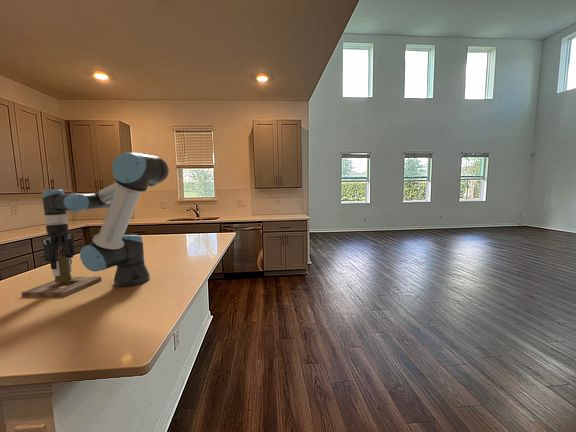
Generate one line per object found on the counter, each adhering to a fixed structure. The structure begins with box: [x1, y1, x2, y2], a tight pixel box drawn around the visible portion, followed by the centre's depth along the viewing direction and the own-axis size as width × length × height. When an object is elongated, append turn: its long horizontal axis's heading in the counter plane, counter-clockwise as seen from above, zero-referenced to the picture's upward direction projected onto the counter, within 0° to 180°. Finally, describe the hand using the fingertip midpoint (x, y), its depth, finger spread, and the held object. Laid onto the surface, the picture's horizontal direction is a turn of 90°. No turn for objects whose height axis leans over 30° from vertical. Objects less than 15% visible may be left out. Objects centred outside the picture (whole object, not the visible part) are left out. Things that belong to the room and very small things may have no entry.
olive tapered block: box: [54, 256, 73, 283], centre depth 122 cm, size 6×6×11 cm
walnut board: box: [21, 276, 103, 298], centre depth 123 cm, size 20×20×2 cm
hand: (62, 273), depth 122 cm, fingers closed on olive tapered block, 5 cm apart
